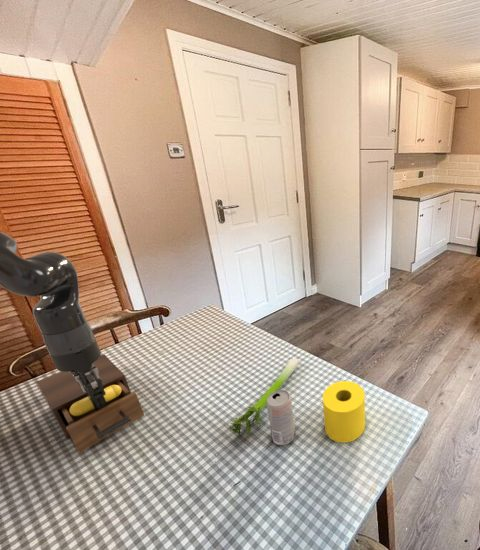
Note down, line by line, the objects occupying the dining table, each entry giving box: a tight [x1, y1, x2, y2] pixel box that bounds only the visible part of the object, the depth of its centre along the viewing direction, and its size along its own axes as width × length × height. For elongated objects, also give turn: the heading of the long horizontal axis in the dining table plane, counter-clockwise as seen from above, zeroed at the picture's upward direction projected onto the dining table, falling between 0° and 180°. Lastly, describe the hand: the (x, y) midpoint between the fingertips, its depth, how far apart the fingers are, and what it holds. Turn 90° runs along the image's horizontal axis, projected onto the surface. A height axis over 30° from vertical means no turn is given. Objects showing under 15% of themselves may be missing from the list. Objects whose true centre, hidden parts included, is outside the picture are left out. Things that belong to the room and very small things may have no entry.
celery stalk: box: [229, 358, 301, 437], centre depth 83 cm, size 6×7×30 cm
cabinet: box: [36, 354, 132, 439], centre depth 80 cm, size 16×14×9 cm
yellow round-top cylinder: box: [70, 385, 122, 416], centre depth 72 cm, size 10×3×3 cm, turn 144°
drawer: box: [60, 381, 145, 454], centre depth 74 cm, size 19×13×7 cm
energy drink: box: [266, 389, 296, 446], centre depth 70 cm, size 5×5×12 cm
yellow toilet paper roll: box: [322, 380, 366, 443], centre depth 74 cm, size 10×10×9 cm
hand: (98, 404), depth 72 cm, fingers closed on yellow round-top cylinder, 3 cm apart
